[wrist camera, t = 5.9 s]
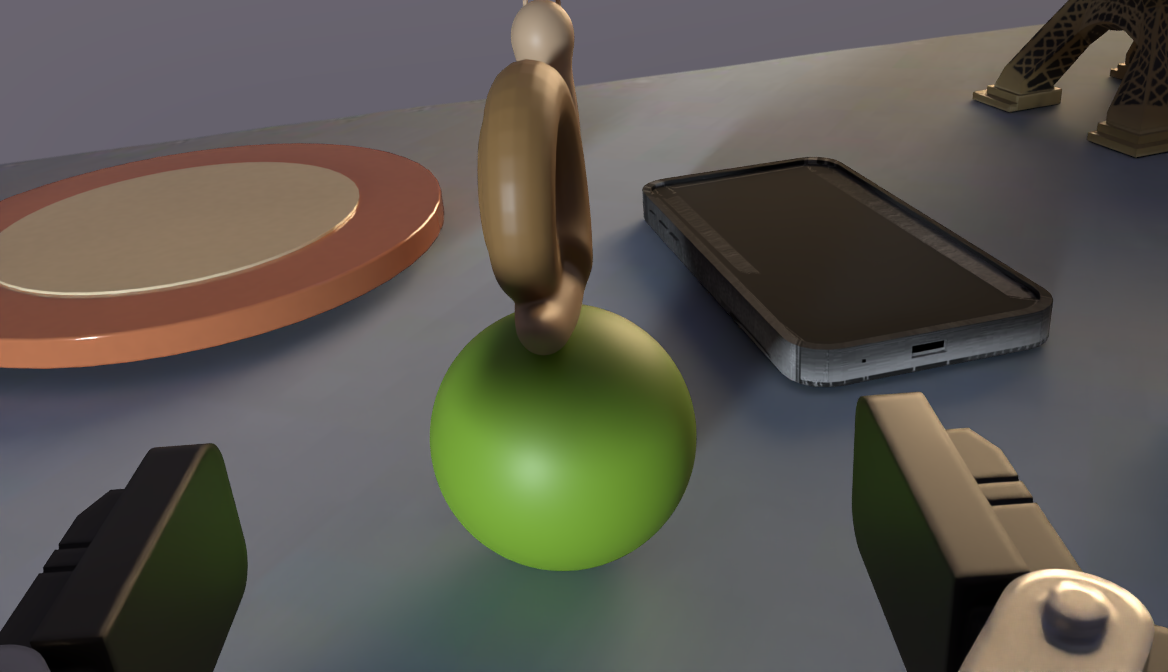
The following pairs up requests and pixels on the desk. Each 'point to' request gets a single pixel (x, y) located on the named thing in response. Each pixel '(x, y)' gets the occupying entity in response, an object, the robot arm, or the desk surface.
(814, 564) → the desk surface
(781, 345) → the phone
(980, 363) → the desk surface
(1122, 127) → the eiffel tower
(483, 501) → the snail figurine
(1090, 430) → the desk surface
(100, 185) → the plate
